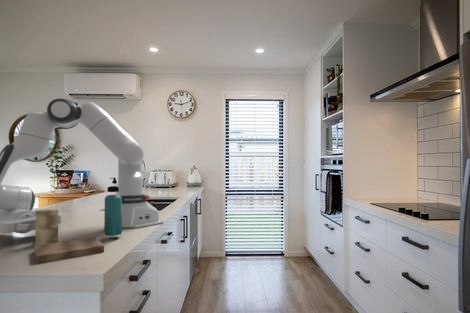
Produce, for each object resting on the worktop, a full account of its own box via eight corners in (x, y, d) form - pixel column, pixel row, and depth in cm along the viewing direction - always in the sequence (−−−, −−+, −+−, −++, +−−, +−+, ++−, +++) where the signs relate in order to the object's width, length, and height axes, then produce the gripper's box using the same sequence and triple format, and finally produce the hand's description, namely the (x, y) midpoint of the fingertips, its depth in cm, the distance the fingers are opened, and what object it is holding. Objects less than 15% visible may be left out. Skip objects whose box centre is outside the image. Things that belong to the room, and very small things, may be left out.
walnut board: (94, 242, 103) (95, 237, 103) (104, 251, 91) (104, 245, 92) (34, 252, 92) (34, 245, 92) (36, 263, 81) (36, 256, 81)
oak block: (50, 240, 105) (50, 208, 106) (57, 242, 103) (58, 209, 103) (35, 244, 101) (35, 210, 101) (43, 246, 99) (43, 211, 99)
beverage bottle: (125, 237, 109) (125, 186, 110) (107, 241, 105) (107, 187, 105) (118, 235, 114) (118, 185, 115) (101, 238, 109) (101, 186, 110)
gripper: (-10, 218, 101) (9, 221, 95) (49, 209, 119) (69, 212, 113) (-11, 235, 101) (9, 240, 94) (49, 224, 119) (69, 227, 112)
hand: (42, 224), depth 104 cm, fingers open, 8 cm apart
